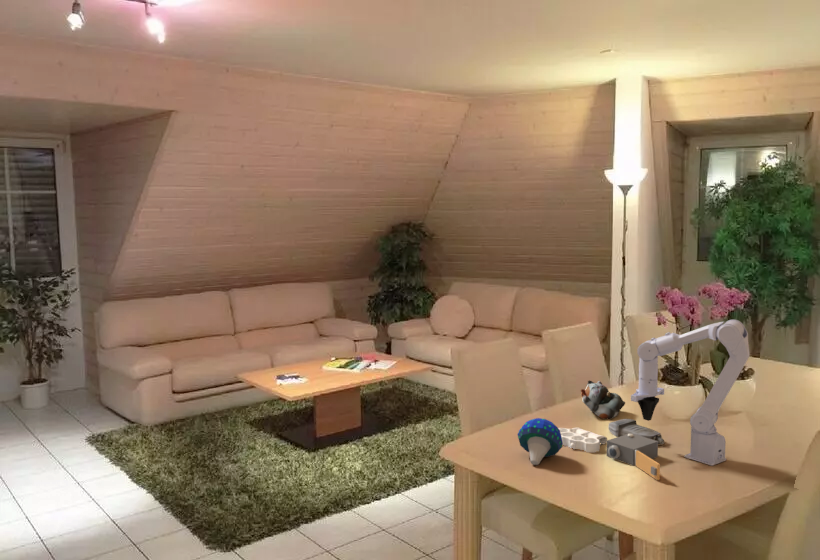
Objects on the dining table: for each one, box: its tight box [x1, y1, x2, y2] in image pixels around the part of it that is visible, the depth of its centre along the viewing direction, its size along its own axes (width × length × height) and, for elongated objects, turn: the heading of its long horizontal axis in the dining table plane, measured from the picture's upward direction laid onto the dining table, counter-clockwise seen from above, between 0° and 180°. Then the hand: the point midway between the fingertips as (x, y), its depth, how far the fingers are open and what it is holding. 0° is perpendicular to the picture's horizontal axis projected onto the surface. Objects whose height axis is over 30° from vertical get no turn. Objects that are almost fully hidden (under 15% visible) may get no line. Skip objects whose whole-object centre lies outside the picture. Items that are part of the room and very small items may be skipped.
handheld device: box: [607, 418, 665, 445], centre depth 232 cm, size 10×20×5 cm, turn 34°
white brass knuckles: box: [558, 427, 608, 453], centre depth 228 cm, size 3×18×15 cm
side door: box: [634, 450, 661, 481], centre depth 202 cm, size 2×12×5 cm, turn 13°
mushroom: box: [517, 417, 563, 466], centre depth 214 cm, size 14×14×15 cm
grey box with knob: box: [606, 433, 659, 467], centre depth 215 cm, size 10×13×6 cm
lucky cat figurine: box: [580, 380, 626, 420], centre depth 259 cm, size 15×12×14 cm
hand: (647, 419), depth 222 cm, fingers closed
